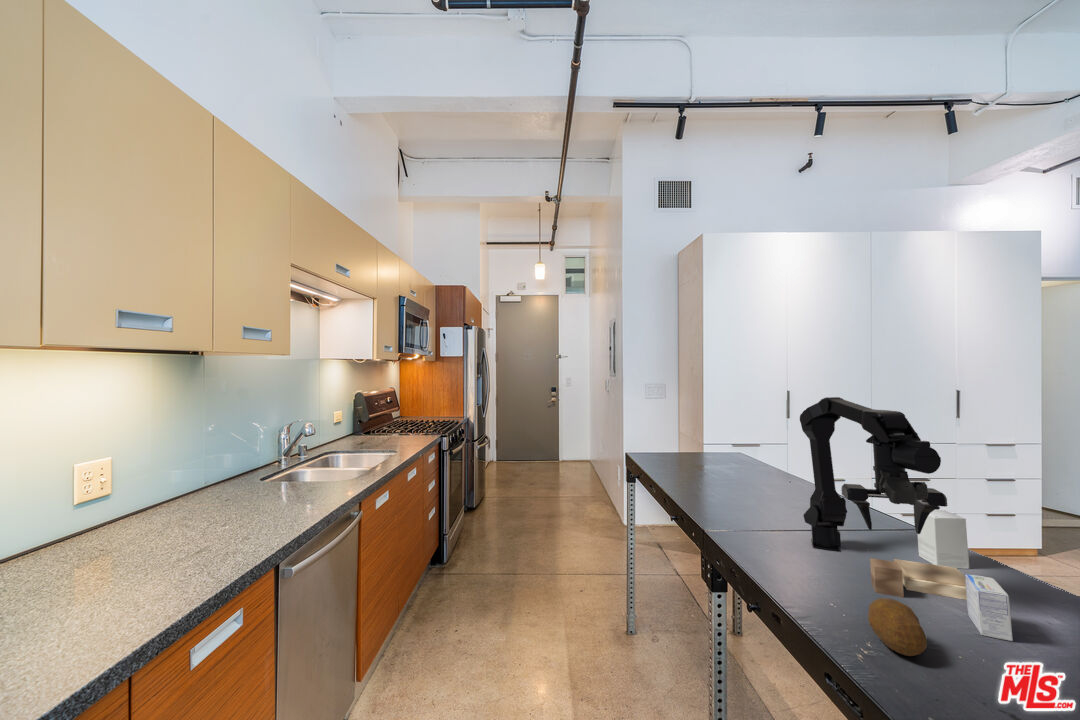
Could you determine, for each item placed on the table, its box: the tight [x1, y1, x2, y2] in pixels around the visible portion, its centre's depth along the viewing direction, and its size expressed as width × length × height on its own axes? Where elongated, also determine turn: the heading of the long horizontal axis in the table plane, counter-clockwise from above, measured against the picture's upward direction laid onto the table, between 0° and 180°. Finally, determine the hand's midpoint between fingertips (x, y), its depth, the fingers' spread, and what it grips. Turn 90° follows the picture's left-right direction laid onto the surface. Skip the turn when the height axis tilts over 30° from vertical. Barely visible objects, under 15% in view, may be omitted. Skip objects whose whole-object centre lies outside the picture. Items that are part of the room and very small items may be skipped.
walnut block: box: [869, 557, 905, 598], centre depth 100 cm, size 5×5×6 cm
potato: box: [867, 597, 928, 657], centre depth 80 cm, size 8×12×8 cm, turn 169°
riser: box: [893, 558, 967, 601], centre depth 102 cm, size 12×12×3 cm
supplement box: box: [917, 509, 970, 570], centre depth 113 cm, size 7×7×13 cm
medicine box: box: [964, 574, 1014, 642], centre depth 84 cm, size 8×4×9 cm, turn 148°
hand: (893, 531), depth 101 cm, fingers open, 9 cm apart
